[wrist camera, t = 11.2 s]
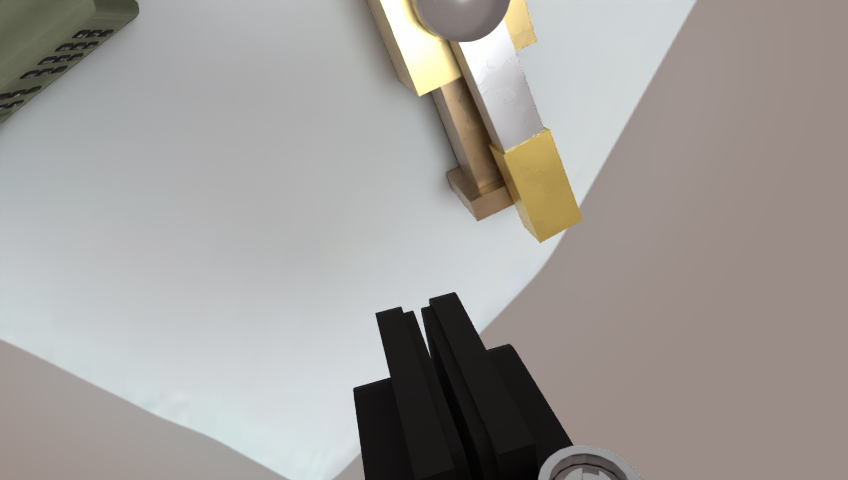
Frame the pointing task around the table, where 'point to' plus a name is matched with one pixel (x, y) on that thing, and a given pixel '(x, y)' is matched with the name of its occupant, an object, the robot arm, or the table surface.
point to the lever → (506, 110)
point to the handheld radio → (50, 41)
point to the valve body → (451, 96)
